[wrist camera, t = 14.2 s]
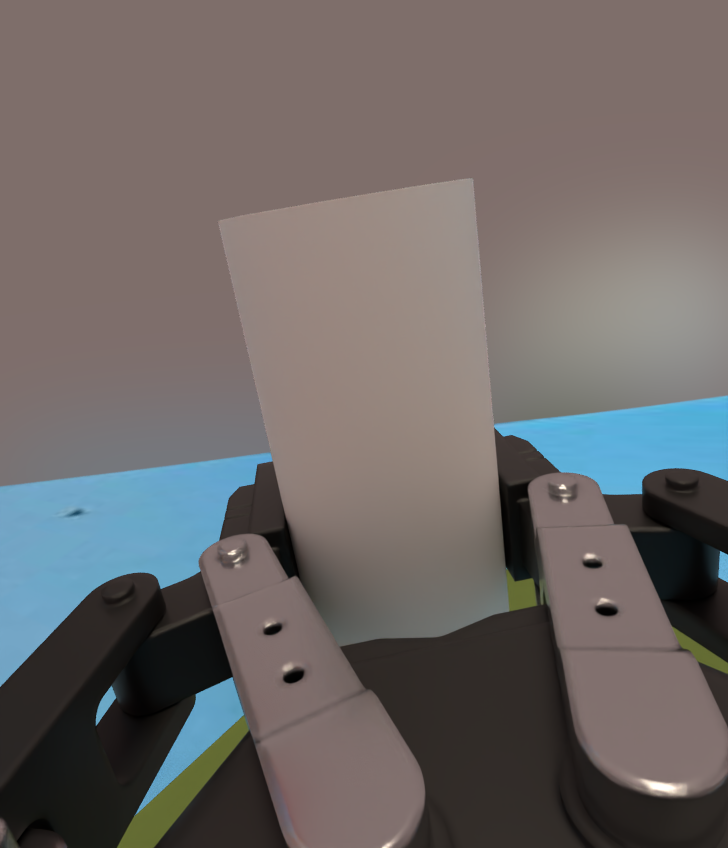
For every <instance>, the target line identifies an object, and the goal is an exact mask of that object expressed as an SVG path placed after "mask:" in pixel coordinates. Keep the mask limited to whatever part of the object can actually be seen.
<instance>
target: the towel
mask: <svg viewBox="0 0 728 848" xmlns="http://www.w3.org/2000/svg"><path fill="white" fill-rule="evenodd" d="M506 575H507V588H508V600H509V611H514V610H518V609H523V608H528V607H533V606H536V602H535V589H534V580H533V578H531V579H526V580H521V581H516V582H515V581H514V579H513V578H512V576H511V574H510V573H509V571H508V570H507V569H506ZM672 628H673V631H674V633H675V635H676V637H677V640H678V642H679V644H680V645H681V647H682V648H683V649H688V650H690V651H691V652H692V654H693V655H694V657H695V658H696V660H697V661H698V662H700V663H703V664H705V665H708V666H710V667H712V668H715V669H717V670H720V671H722V672H724V673H727V674H728V663H727V662H725V661H724V660H722V659H721V658H719V657H718V656H716V655H715V654H713V653H712V652H710V651H709V650H707V649H706V648H704V647H703V646H701V645H700V644H698V643H697V642H695V641H694V640H692V639H691V638H689V637H688V636H686V635H685V634H683V633H682V632H680V631H678V630H677V629H675V628H674V627H672ZM248 731H249V730H248V726H247V723H246V720H245V716H244V715H243V716H242V717H241V718H240V719H239V720H238V721H237V722H236V723H235V724H234V725H233V726H232V727H231V728H229V729H228V730H227V731H226V732H225V733H224V734H223V735H222V736H221V737H220V738H219V739H218V740H216V741H215V742H214V743H213V744H212V745H211V746H210V747H209V748H208V749H207V750H206V751H205V752H203V753H202V754H201V755H200V756H199V757H198V758H197V759H196V760H195V761H194V762H193V763H192V764H191V765H189V766H188V767H187V768H186V769H185V770H184V771H183V772H182V773H181V774H180V775H179V776H178V777H176V778H175V779H174V780H173V781H172V782H171V783H170V784H169V785H168V786H167V787H166V788H165V789H163V790H162V791H161V792H160V793H159V794H158V795H157V796H156V797H155V798H154V799H153V800H152V801H151V802H149V803H148V804H147V805H146V806H145V807H144V808H143V809H142V810H141V811H140V812H139V813H138V814H136V815H135V816H134V817H133V819H132V821H131V823H130V825H129V826H128V828H127V830H126V832H125V834H124V836H123V837H122V839H121V841H120V843H119V845H118V847H117V848H154V847H155V845H156V844H157V843H158V842H159V840H160V839H161V838H162V837H163V836H164V834H165V833H166V832H167V831H168V829H169V828H170V827H171V826H172V824H173V823H174V822H175V821H176V820H177V818H178V817H179V816H180V815H181V813H182V812H183V811H184V810H185V808H186V807H187V806H188V805H189V804H190V802H191V801H192V800H193V799H194V797H195V796H196V795H197V794H198V792H199V791H200V790H201V789H202V788H203V786H204V785H205V784H206V783H207V781H208V780H209V779H210V778H211V776H212V775H213V774H214V773H215V772H216V770H217V769H218V768H219V767H220V765H221V764H222V763H223V762H224V761H225V759H226V758H227V757H228V756H229V754H230V753H231V752H232V751H233V749H234V748H235V747H236V746H237V745H238V743H239V742H240V741H241V740H242V738H243V737H244V736H245V735H246V733H247V732H248Z"/></svg>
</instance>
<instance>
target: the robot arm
mask: <svg viewBox="0 0 728 848" xmlns="http://www.w3.org/2000/svg"><path fill="white" fill-rule="evenodd" d="M494 433H495V445H496V457H497V469H498V480H499V492H500V504H501V516H502V528H503V539H504V551H505V563H506V568H507V569H508V571H509V573H510V574H511V576H512V578H513V579H514V581H515V582H516V581H521V580H526V579H531V578H533V580H534V589H535V602H536V606H533V607H528V608H523V609H518V610H514V611H509V612H504V613H499V614H494V615H492V616H489V617H487V618H484V619H482V620H480V621H477V622H475V623H473V624H470V625H468V626H465V627H463V628H461V629H458V630H456V631H454V632H451V633H449V634H446V635H444V636H440V637H426V638H383V639H374V640H370V641H365V642H360V643H355V644H350V645H346V646H341V647H339V645H338V644H337V642H336V640H335V639H334V637H333V635H332V633H331V632H330V630H329V628H328V627H327V625H326V623H325V622H324V620H323V618H322V617H321V615H320V613H319V612H318V610H317V608H316V607H315V605H314V603H313V602H312V600H311V598H310V597H309V595H308V593H307V592H306V590H305V588H304V587H303V585H302V583H301V582H300V577H299V573H298V569H297V564H296V560H295V555H294V551H293V547H292V542H291V538H290V534H289V529H288V525H287V521H286V516H285V512H284V508H283V503H282V499H281V495H280V490H279V486H278V482H277V477H276V473H275V468H274V464H273V462H267V463H262V464H258V465H257V471H256V478H255V484H253V485H247V486H242V487H239V488H238V489H237V490H236V491H235V492H234V493H233V494H232V495H231V497H230V498H229V500H228V505H227V511H226V513H225V520H224V522H223V526H222V531H221V535H220V540H219V541H218V542H216V543H214V544H213V545H211V546H210V547H208V548H207V549H206V550H205V551H204V552H203V553H202V555H201V556H200V558H199V567H200V570H201V571H200V572H199V573H197V574H196V575H194V576H192V577H190V578H188V579H186V580H183V581H181V582H178V583H176V584H173V585H170V586H168V587H165V588H163V589H160V586H159V583H158V580H157V578H156V577H155V576H154V575H152V574H149V573H132V574H127V575H123V576H120V577H117V578H114V579H112V580H110V581H108V582H106V583H104V584H102V585H101V586H99V587H97V588H96V589H95V590H93V591H92V592H91V593H90V594H89V595H88V596H87V597H86V598H85V599H84V600H83V601H82V602H81V603H80V604H79V605H78V606H77V607H76V608H75V609H74V610H73V611H72V612H71V613H70V615H69V616H68V617H67V618H66V619H65V620H64V621H63V622H62V623H61V624H60V625H59V626H58V627H57V628H56V629H55V630H54V631H53V632H52V633H51V634H50V635H49V637H48V638H47V639H46V640H45V641H44V642H43V643H42V644H41V645H40V646H39V647H38V648H37V649H36V650H35V651H34V652H33V653H32V654H31V655H30V656H29V657H28V659H27V660H26V661H25V662H24V663H23V664H22V665H21V666H20V667H19V668H18V669H17V670H16V671H15V672H14V673H13V674H12V675H11V676H10V677H9V678H8V679H7V680H6V682H5V683H4V684H3V685H2V686H1V687H0V848H117V847H118V845H119V843H120V841H121V839H122V837H123V836H124V834H125V832H126V830H127V828H128V826H129V825H130V823H131V821H132V819H133V817H134V815H135V814H136V812H137V810H138V808H139V806H140V804H141V803H142V801H143V799H144V797H145V795H146V794H147V792H148V790H149V788H150V786H151V784H152V783H153V781H154V779H155V777H156V775H157V773H158V772H159V770H160V768H161V766H162V764H163V762H164V761H165V759H166V757H167V755H168V753H169V751H170V750H171V748H172V746H173V744H174V742H175V740H176V739H177V737H178V735H179V733H180V731H181V729H182V728H183V726H184V724H185V722H186V720H187V718H188V717H189V715H190V713H191V711H192V709H193V707H194V705H195V700H196V695H195V694H197V693H199V692H201V691H203V690H205V689H207V688H210V687H212V686H214V685H216V684H218V683H220V682H223V681H225V680H227V679H229V678H231V677H233V681H234V684H235V687H236V690H237V694H238V697H239V700H240V703H241V707H242V710H243V713H244V716H245V720H246V723H247V726H248V730H249V731H248V732H247V733H246V735H245V736H244V737H243V738H242V740H241V741H240V742H239V743H238V745H237V746H236V747H235V748H234V749H233V751H232V752H231V753H230V754H229V756H228V757H227V758H226V759H225V761H224V762H223V763H222V764H221V765H220V767H219V768H218V769H217V770H216V772H215V773H214V774H213V775H212V776H211V778H210V779H209V780H208V781H207V783H206V784H205V785H204V786H203V788H202V789H201V790H200V791H199V792H198V794H197V795H196V796H195V797H194V799H193V800H192V801H191V802H190V804H189V805H188V806H187V807H186V808H185V810H184V811H183V812H182V813H181V815H180V816H179V817H178V818H177V820H176V821H175V822H174V823H173V824H172V826H171V827H170V828H169V829H168V831H167V832H166V833H165V834H164V836H163V837H162V838H161V839H160V840H159V842H158V843H157V844H156V845H155V847H154V848H728V674H727V673H724V672H722V671H720V670H717V669H715V668H712V667H710V666H708V665H705V664H703V663H700V662H698V661H697V660H696V658H695V657H694V655H693V654H692V652H691V651H690V650H688V649H683V648H682V647H681V645H680V644H679V642H678V640H677V637H676V635H675V633H674V631H673V628H672V627H674V628H675V629H677V630H678V631H680V632H682V633H683V634H685V635H686V636H688V637H689V638H691V639H692V640H694V641H695V642H697V643H698V644H700V645H701V646H703V647H704V648H706V649H707V650H709V651H710V652H712V653H713V654H715V655H716V656H718V657H719V658H721V659H722V660H724V661H725V662H727V663H728V582H726V581H724V580H722V579H720V578H718V572H719V556H720V551H722V552H724V553H726V554H728V481H726V480H724V479H721V478H718V477H715V476H713V475H710V474H707V473H704V472H701V471H697V470H691V469H679V468H674V469H663V470H658V471H655V472H652V473H650V474H648V475H647V476H645V477H644V479H643V481H642V494H632V495H606V494H602V492H601V490H600V487H599V485H598V484H597V482H596V481H594V480H593V479H591V478H589V477H587V476H584V475H580V474H575V473H561V472H560V471H559V470H558V469H557V468H556V467H554V466H553V465H552V464H551V463H550V462H549V461H548V460H547V459H546V458H544V456H543V455H542V454H541V453H540V452H539V451H537V449H536V448H535V447H533V446H532V445H531V444H530V443H529V442H528V441H526V440H524V439H521V438H518V437H516V436H513V435H510V436H505V437H503V436H502V435H501V434H500V433H499V432H498V431H497V430H496V429H495V428H494ZM111 685H112V688H113V690H114V693H115V695H116V699H115V700H114V702H113V703H112V705H111V706H110V707H109V709H108V710H107V712H106V713H105V714H104V716H103V717H102V719H101V720H100V722H99V723H98V724H97V726H96V713H97V709H98V706H99V703H100V701H101V699H102V698H103V696H104V695H105V693H106V692H107V691H108V689H109V688H110V687H111Z"/></svg>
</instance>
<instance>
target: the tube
mask: <svg viewBox="0 0 728 848" xmlns="http://www.w3.org/2000/svg"><path fill="white" fill-rule="evenodd" d="M476 221H477V220H476V209H475V197H474V185H473V179H472V178H470V179H461V180H454V181H447V182H440V183H433V184H428V185H420V186H414V187H407V188H401V189H395V190H389V191H383V192H377V193H370V194H364V195H358V196H352V197H346V198H341V199H334V200H328V201H322V202H317V203H310V204H305V205H299V206H293V207H287V208H282V209H276V210H270V211H265V212H259V213H254V214H248V215H243V216H238V217H233V218H227V219H223V220H219V221H218V224H219V229H220V233H221V237H222V241H223V246H224V251H225V255H226V259H227V264H228V268H229V272H230V277H231V281H232V285H233V290H234V294H235V298H236V303H237V307H238V311H239V316H240V320H241V325H242V329H243V333H244V337H245V342H246V346H247V350H248V355H249V359H250V363H251V368H252V373H253V376H254V381H255V386H256V390H257V394H258V399H259V403H260V407H261V411H262V416H263V421H264V425H265V429H266V434H267V438H268V442H269V447H270V451H271V455H272V460H273V464H274V468H275V473H276V477H277V482H278V486H279V490H280V495H281V499H282V503H283V508H284V512H285V516H286V521H287V525H288V529H289V534H290V538H291V542H292V547H293V551H294V555H295V560H296V564H297V569H298V573H299V577H300V582H301V583H302V585H303V587H304V588H305V590H306V592H307V593H308V595H309V597H310V598H311V600H312V602H313V603H314V605H315V607H316V608H317V610H318V612H319V613H320V615H321V617H322V618H323V620H324V622H325V623H326V625H327V627H328V628H329V630H330V632H331V633H332V635H333V637H334V639H335V640H336V642H337V644H338V645H339V647H341V646H346V645H350V644H355V643H360V642H365V641H370V640H374V639H383V638H426V637H440V636H444V635H446V634H449V633H451V632H454V631H456V630H458V629H461V628H463V627H465V626H468V625H470V624H473V623H475V622H477V621H480V620H482V619H484V618H487V617H489V616H492V615H494V614H499V613H504V612H509V600H508V588H507V575H506V563H505V551H504V539H503V528H502V516H501V504H500V492H499V480H498V469H497V457H496V445H495V433H494V421H493V410H492V398H491V387H490V374H489V364H488V363H489V362H488V350H487V339H486V328H485V315H484V303H483V291H482V280H481V269H480V256H479V244H478V233H477V222H476Z"/></svg>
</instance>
